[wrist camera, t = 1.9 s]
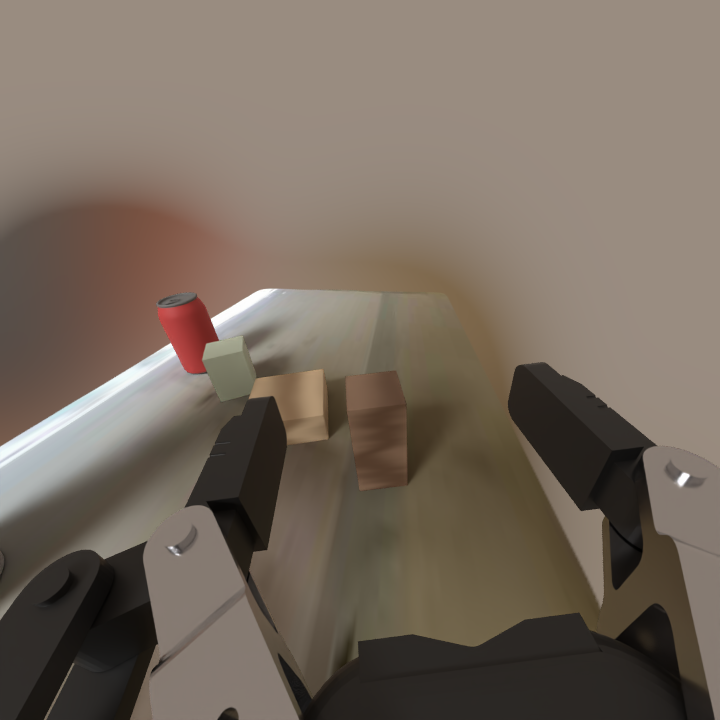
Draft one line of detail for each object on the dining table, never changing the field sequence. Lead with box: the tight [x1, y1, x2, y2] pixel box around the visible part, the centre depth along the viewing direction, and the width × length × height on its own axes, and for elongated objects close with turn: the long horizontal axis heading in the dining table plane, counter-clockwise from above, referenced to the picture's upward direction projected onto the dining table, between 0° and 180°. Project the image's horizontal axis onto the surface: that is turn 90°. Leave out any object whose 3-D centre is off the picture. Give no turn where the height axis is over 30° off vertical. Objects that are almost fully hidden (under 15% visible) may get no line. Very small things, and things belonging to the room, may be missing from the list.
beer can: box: [156, 293, 219, 374], centre depth 47 cm, size 7×7×12 cm
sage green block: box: [202, 336, 257, 402], centre depth 41 cm, size 5×5×7 cm
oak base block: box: [249, 369, 329, 445], centre depth 36 cm, size 9×9×4 cm
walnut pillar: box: [345, 371, 408, 491], centre depth 26 cm, size 4×4×10 cm
